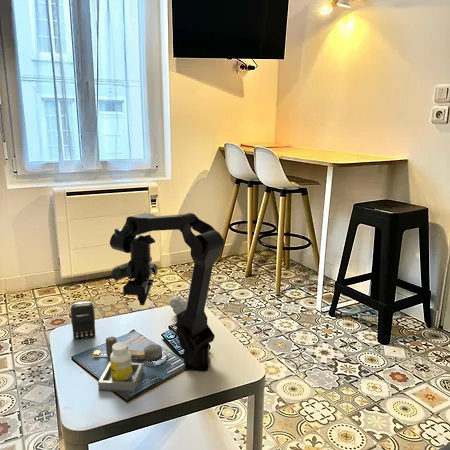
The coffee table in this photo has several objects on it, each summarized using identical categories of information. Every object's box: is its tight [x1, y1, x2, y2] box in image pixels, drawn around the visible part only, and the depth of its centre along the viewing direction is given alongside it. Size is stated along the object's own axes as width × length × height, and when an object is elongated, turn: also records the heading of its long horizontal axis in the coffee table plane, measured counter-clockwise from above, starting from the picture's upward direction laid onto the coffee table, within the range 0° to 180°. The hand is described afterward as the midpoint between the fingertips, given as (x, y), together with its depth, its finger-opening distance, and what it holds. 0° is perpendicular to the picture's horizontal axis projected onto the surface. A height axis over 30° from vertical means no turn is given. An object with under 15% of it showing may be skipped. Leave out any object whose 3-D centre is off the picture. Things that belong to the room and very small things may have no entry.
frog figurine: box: [168, 295, 188, 316], centre depth 149 cm, size 6×7×7 cm
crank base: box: [92, 350, 155, 367], centre depth 124 cm, size 21×8×1 cm, turn 87°
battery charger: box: [70, 301, 96, 341], centre depth 133 cm, size 7×4×11 cm, turn 107°
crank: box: [105, 336, 163, 361], centre depth 123 cm, size 16×5×5 cm, turn 87°
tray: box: [97, 361, 144, 393], centre depth 113 cm, size 9×9×2 cm
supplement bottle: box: [109, 341, 133, 382], centre depth 112 cm, size 5×5×10 cm
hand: (142, 304), depth 130 cm, fingers closed
